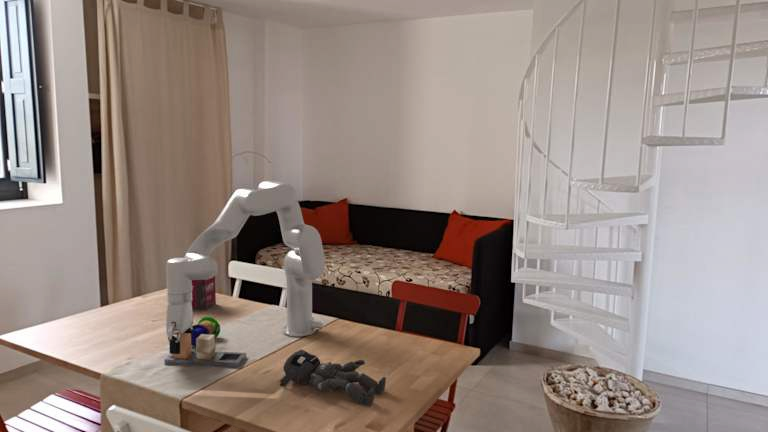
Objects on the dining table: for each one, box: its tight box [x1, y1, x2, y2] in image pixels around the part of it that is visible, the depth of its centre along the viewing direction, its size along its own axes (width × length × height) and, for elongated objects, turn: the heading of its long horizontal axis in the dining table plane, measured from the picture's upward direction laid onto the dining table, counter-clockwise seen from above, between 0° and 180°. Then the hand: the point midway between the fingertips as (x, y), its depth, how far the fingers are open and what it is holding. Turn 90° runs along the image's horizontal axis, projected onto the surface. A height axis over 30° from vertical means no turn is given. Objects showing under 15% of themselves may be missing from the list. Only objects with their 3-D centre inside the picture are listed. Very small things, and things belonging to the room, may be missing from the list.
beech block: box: [195, 334, 216, 360], centre depth 178 cm, size 4×4×8 cm
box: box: [191, 275, 217, 311], centre depth 236 cm, size 16×9×20 cm, turn 81°
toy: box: [191, 316, 221, 347], centre depth 195 cm, size 12×9×15 cm
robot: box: [279, 349, 387, 407], centre depth 163 cm, size 17×10×30 cm
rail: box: [164, 350, 247, 368], centre depth 179 cm, size 24×8×3 cm, turn 86°
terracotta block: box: [173, 333, 192, 359], centre depth 179 cm, size 4×4×8 cm
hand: (181, 347), depth 179 cm, fingers open, 9 cm apart
